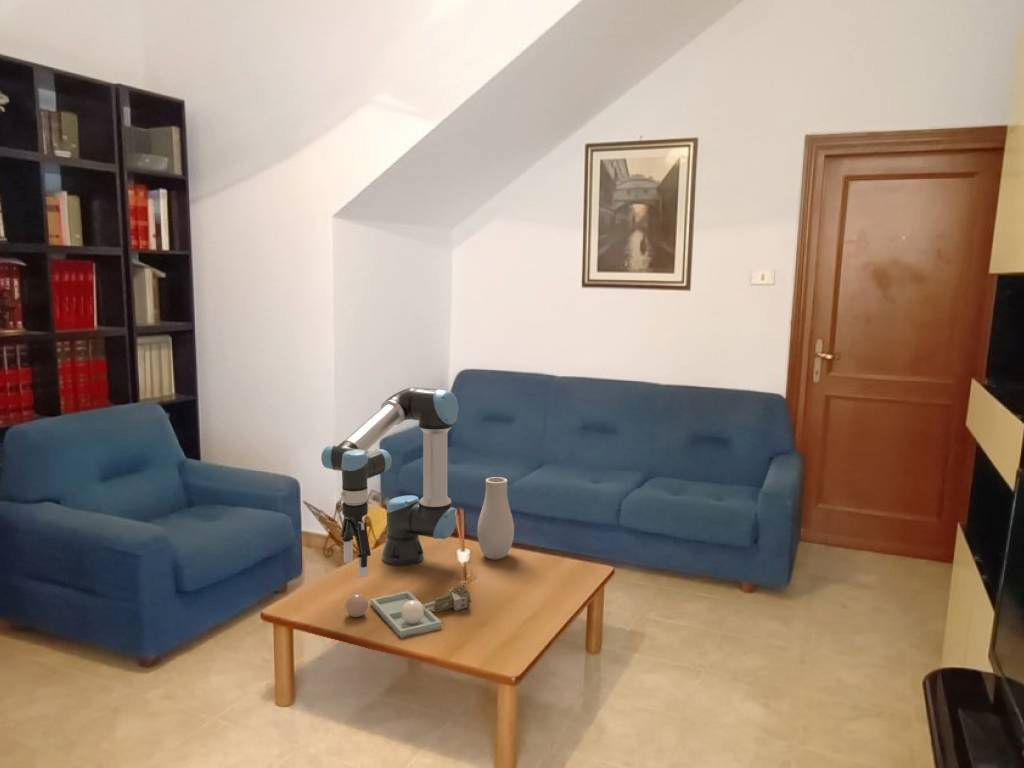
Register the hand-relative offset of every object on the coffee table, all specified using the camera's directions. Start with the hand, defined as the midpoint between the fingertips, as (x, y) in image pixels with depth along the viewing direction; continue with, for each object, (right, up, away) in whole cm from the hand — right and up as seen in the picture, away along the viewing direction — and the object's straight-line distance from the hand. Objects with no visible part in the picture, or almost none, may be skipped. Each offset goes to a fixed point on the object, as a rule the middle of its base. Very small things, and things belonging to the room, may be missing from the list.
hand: (355, 568), depth 236 cm
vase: (+42, -9, +53) cm, 68 cm away
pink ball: (0, -15, +2) cm, 15 cm away
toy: (+28, -15, +8) cm, 33 cm away
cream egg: (+18, -16, -3) cm, 24 cm away
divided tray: (+15, -15, +3) cm, 22 cm away
